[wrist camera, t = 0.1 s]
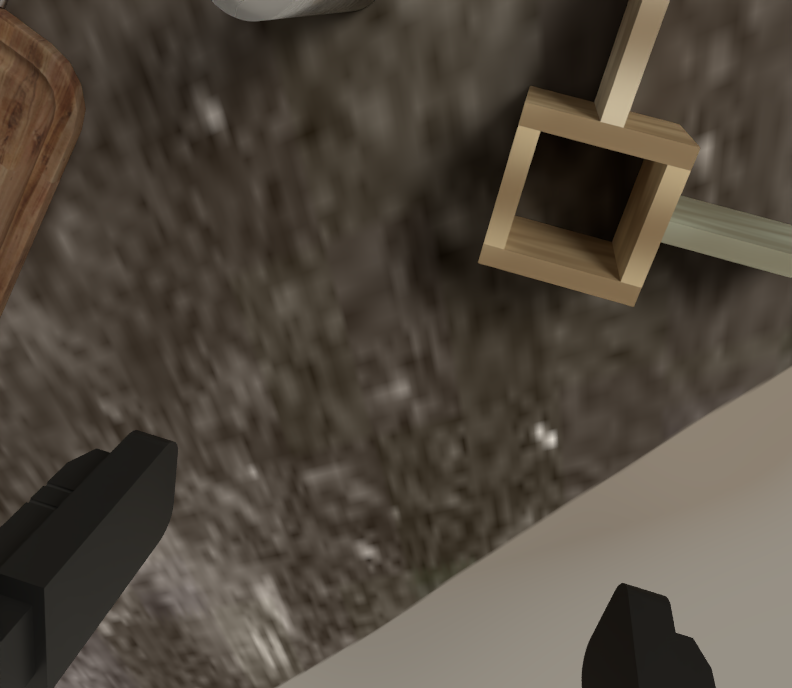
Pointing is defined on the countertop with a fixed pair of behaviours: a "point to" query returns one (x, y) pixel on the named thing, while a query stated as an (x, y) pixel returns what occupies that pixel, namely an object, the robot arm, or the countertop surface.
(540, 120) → the hinge
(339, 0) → the hinge pin
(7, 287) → the chopping board
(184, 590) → the countertop surface
